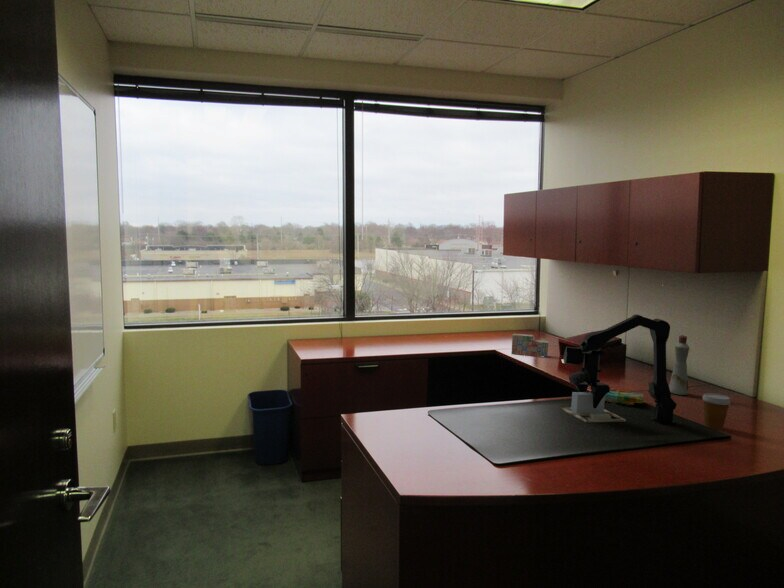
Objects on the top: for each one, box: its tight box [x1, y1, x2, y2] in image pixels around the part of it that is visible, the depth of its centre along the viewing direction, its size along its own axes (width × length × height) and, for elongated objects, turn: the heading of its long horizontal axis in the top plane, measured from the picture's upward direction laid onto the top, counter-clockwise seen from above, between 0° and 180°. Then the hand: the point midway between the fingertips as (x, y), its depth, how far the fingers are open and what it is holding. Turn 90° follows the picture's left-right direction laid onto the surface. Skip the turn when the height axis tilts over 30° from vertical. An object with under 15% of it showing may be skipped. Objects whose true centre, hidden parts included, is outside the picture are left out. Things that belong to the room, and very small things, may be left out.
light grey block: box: [570, 391, 606, 414], centre depth 229 cm, size 4×12×9 cm, turn 104°
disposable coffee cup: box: [701, 392, 731, 431], centre depth 222 cm, size 10×10×12 cm
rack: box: [561, 406, 627, 423], centre depth 226 cm, size 17×17×2 cm
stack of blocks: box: [511, 333, 549, 358], centre depth 356 cm, size 21×6×12 cm, turn 74°
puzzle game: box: [605, 387, 645, 406], centre depth 254 cm, size 12×5×20 cm
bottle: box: [668, 334, 690, 396], centre depth 274 cm, size 9×9×28 cm
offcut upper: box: [588, 413, 612, 420], centre depth 221 cm, size 3×7×2 cm, turn 94°
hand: (587, 404), depth 229 cm, fingers open, 9 cm apart
